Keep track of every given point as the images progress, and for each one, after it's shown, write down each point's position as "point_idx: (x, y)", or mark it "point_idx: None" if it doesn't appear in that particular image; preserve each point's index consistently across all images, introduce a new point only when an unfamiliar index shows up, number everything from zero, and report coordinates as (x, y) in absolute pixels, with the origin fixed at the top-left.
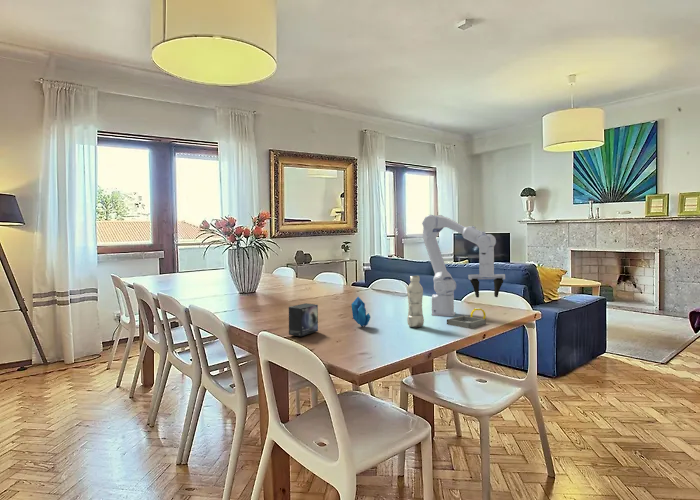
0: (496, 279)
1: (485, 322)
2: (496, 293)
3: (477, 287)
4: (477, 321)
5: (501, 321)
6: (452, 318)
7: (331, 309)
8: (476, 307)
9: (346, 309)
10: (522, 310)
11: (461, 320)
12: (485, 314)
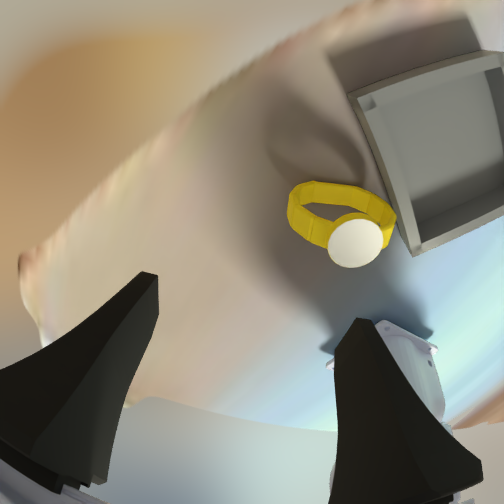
0: (65, 479)
1: (353, 94)
2: (139, 300)
3: (411, 414)
4: (447, 65)
5: (179, 174)
6: (500, 210)
7: (491, 417)
8: (348, 266)
9: (476, 419)
10: (49, 328)
11: (426, 224)
12: (293, 198)
